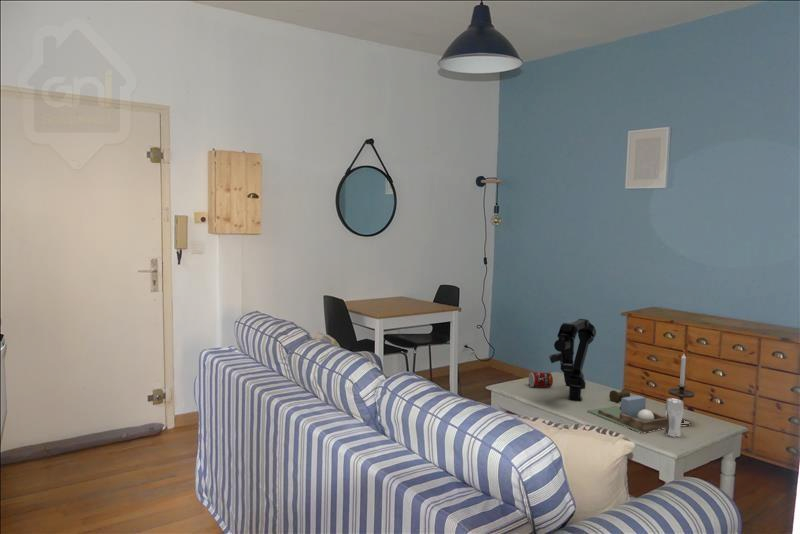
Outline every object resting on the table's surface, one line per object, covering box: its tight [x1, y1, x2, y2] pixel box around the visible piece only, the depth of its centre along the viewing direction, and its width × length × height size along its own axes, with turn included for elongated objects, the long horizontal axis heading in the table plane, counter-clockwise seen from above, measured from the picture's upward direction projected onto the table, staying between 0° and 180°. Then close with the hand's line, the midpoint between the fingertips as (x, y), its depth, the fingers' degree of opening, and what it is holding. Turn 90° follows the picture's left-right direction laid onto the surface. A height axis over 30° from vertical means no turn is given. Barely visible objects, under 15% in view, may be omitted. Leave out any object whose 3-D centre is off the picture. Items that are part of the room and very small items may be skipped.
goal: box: [587, 405, 667, 434], centre depth 270 cm, size 32×19×4 cm, turn 27°
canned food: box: [528, 372, 554, 388], centre depth 321 cm, size 8×8×11 cm
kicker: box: [620, 395, 647, 419], centre depth 268 cm, size 4×11×10 cm, turn 117°
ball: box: [637, 408, 654, 421], centre depth 261 cm, size 7×7×7 cm
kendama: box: [608, 388, 647, 404], centre depth 296 cm, size 6×10×20 cm
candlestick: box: [667, 347, 696, 425], centre depth 266 cm, size 11×11×35 cm
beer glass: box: [664, 397, 685, 437], centre depth 251 cm, size 7×7×15 cm
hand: (565, 380), depth 289 cm, fingers open, 9 cm apart
